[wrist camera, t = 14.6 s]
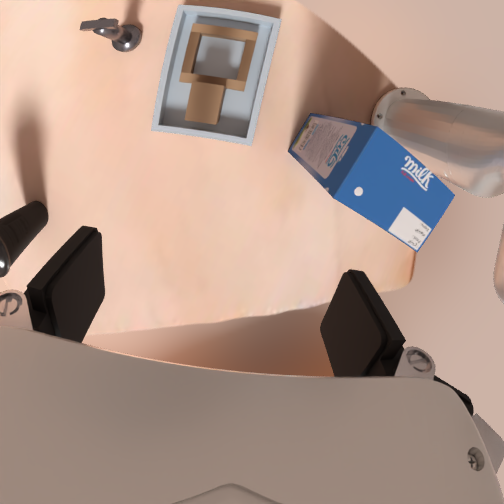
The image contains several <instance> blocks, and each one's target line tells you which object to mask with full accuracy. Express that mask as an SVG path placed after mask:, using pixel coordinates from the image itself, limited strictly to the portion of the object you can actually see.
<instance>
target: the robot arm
mask: <svg viewBox="0 0 504 504" xmlns="http://www.w3.org/2000/svg"><path fill="white" fill-rule="evenodd" d="M377 115H378V117H377ZM371 125H373V126H378V127H379V128H380V129H382V130H383V131H384V132H385V133H387V134H388V135H389V136H390V137H392V138H393V139H394V140H395V141H397V142H398V143H399V144H400V145H401V146H403V147H404V148H405V149H406V150H407V151H409V152H410V153H411V154H412V155H413V156H414V157H415V158H417V159H418V160H419V161H420V162H421V163H422V164H423V165H424V166H425V167H427V168H428V169H429V170H430V171H431V172H432V173H433V174H435V175H437V176H439V177H441V178H443V179H445V180H447V181H449V182H451V183H452V184H454V185H456V186H458V187H460V188H462V189H463V190H466V191H467V192H469V193H471V194H473V195H475V196H479V197H494V196H498V195H501V194H503V193H504V112H503V111H497V110H491V109H486V108H481V107H475V106H469V105H463V104H456V103H450V102H441V101H432V100H430V99H429V98H428V97H427V96H426V95H424V94H423V93H421V92H420V91H418V90H415V89H411V88H397V89H393V90H391V91H389V92H387V93H386V94H384V95H383V96H382V97H381V98H380V100H379V101H378V102H377V104H376V106H375V108H374V111H373V114H372V119H371ZM494 287H495V290H496V293H497V295H498V297H499V299H500V300H501V302H502V303H503V304H504V224H503V230H502V235H501V240H500V244H499V249H498V253H497V258H496V263H495V268H494ZM104 296H105V286H104V273H103V257H102V235H101V233H100V232H98V230H97V228H94V227H88V226H82V227H81V228H80V229H79V230H77V231H76V232H75V234H74V235H73V236H72V237H71V238H70V239H69V240H68V241H67V242H66V243H65V244H64V245H63V246H62V247H61V248H60V249H59V250H58V251H57V252H56V253H55V254H54V255H53V256H52V258H51V259H50V260H49V261H48V262H47V263H46V264H45V265H44V266H43V268H42V269H41V270H40V271H39V272H38V273H37V274H36V276H35V277H34V278H33V279H32V280H31V281H30V283H29V284H28V285H27V290H26V291H25V292H24V294H23V293H22V292H20V291H18V290H6V291H3V292H0V504H504V498H503V495H502V492H501V488H500V485H499V482H498V479H497V476H496V473H497V471H498V469H499V467H500V465H501V462H502V460H503V458H504V441H503V440H502V438H501V437H500V436H499V435H498V434H497V433H496V432H495V431H494V430H493V429H492V428H491V427H490V426H489V425H488V424H487V423H486V422H485V421H484V420H483V419H482V418H481V417H480V416H479V415H478V414H475V415H474V416H473V405H472V403H471V400H470V398H469V397H468V396H467V395H466V394H464V393H462V392H461V391H459V390H457V389H456V388H454V387H453V386H451V385H449V384H448V383H446V382H445V381H443V380H441V379H440V378H438V377H437V376H435V375H434V374H435V364H434V361H433V359H432V358H431V356H429V354H428V353H426V352H425V351H423V350H422V349H420V348H417V347H407V348H406V349H404V348H403V346H402V345H403V344H404V342H405V341H406V340H405V338H404V336H403V335H402V333H401V331H400V330H399V328H398V326H397V324H396V323H395V321H394V319H393V318H392V316H391V314H390V313H389V311H388V309H387V308H386V306H385V305H384V303H383V301H382V300H381V298H380V296H379V295H378V293H377V292H376V290H375V288H374V287H373V285H372V284H371V282H370V281H369V279H368V277H367V276H366V274H365V273H364V272H363V271H358V270H351V269H350V270H348V271H347V272H345V273H344V274H343V275H342V277H341V280H340V282H339V285H338V287H337V289H336V292H335V294H334V296H333V298H332V301H331V303H330V305H329V307H328V310H327V312H326V314H325V316H324V318H323V321H322V323H321V327H320V331H321V335H322V338H323V341H324V344H325V347H326V350H327V353H328V356H329V360H330V363H331V366H332V369H333V373H334V376H335V377H317V376H292V375H275V374H261V373H249V372H239V371H230V370H221V369H212V368H205V367H198V366H190V365H184V364H178V363H172V362H166V361H159V360H154V359H149V358H144V357H139V356H134V355H129V354H124V353H120V352H115V351H111V350H107V349H102V348H99V347H94V346H91V345H87V344H83V343H82V341H83V339H84V337H85V335H86V333H87V331H88V329H89V327H90V325H91V323H92V321H93V319H94V317H95V315H96V313H97V311H98V309H99V307H100V305H101V303H102V301H103V299H104Z"/></svg>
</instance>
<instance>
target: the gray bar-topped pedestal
mask: <svg viewBox="0 0 504 504" xmlns="http://www.w3.org/2000/svg"><path fill="white" fill-rule="evenodd" d="M80 30H82V31H91V30H93V31H94V33H96V34H99V35H101V36H104V37H106V38H109V39H111V40H112V45H113V47H114V48H115V49H116V50H118V51H121V52H129V51H132V50H133V49H135V48H136V47H137V46H138V45H139V43H140V41H141V38H142V34H141V31H140V30H139V29H138V28H137V27H136V26H134V25H124V26H122V27H121V26H119V25H118V20H117V19H106V18H100V19H98V20H92V21H84V22H82V23H81V26H80Z"/></svg>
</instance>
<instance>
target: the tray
mask: <svg viewBox="0 0 504 504" xmlns="http://www.w3.org/2000/svg"><path fill="white" fill-rule="evenodd" d="M281 20H282V19H278V18H274V17H269V16H264V15H259V14H254V13H249V12H243V11H237V10H230V9H223V8H215V7H205V6H193V5H178V8H177V12H176V15H175V19H174V23H173V26H172V30H171V34H170V38H169V42H168V46H167V50H166V54H165V59H164V63H163V68H162V72H161V77H160V82H159V87H158V93H157V98H156V104H155V110H154V116H153V122H152V129H151V131H158V132H167V133H175V134H182V135H190V136H197V137H203V138H210V139H216V140H222V141H227V142H233V143H239V144H244V145H249V146H252V142H253V137H254V133H255V128H256V124H257V119H258V115H259V111H260V106H261V102H262V98H263V94H264V89H265V85H266V81H267V77H268V73H269V68H270V64H271V60H272V56H273V52H274V48H275V44H276V40H277V36H278V32H279V28H280V24H281ZM193 23H196V24H206V25H214V26H222V27H229V28H235V29H241V30H247V31H252V32H257V33H258V36H257V40H256V44H255V48H254V52H253V56H252V60H251V64H250V69H249V73H248V77H247V81H246V85H245V90H244V92H242V91H237V90H231V89H226V92H225V96H224V101H223V105H222V110H221V115H220V120H219V122H218V123H217V124H216V125H214V124H208V123H201V122H194V121H187V120H185V115H186V109H187V104H188V99H189V94H190V89H191V83H182V82H179V79H180V74H181V70H182V65H183V61H184V56H185V52H186V48H187V44H188V40H189V36H190V32H191V29H192V25H193ZM245 43H246V42H241V41H235V40H229V39H222V38H215V37H207V36H202V39H201V43H200V47H199V51H198V55H197V59H196V63H195V67H194V72H193V74H200V75H207V76H214V77H221V78H227V79H233V80H237V75H238V71H239V67H240V63H241V59H242V55H243V51H244V47H245Z"/></svg>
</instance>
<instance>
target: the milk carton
mask: <svg viewBox="0 0 504 504" xmlns="http://www.w3.org/2000/svg"><path fill="white" fill-rule="evenodd" d="M288 152H289V153H290V154H291V155H292V156H293V157H294V158H295V159H296V160H297V161H298V162H299V163H300V164H301V165H302V166H303V167H304V168H305V169H306V170H307V171H308V172H309V173H310V174H311V175H312V176H313V177H314V178H315V179H316V180H317V181H318V182H319V183H320V184H321V185H322V186H323V187H324V188H325V190H326V191H327V192H328V193H329V194H330V195H331V196H332V197H333V198H334V199H336V200H337V201H339V202H341V203H342V204H344V205H346V206H347V207H349V208H351V209H352V210H354V211H356V212H357V213H359V214H360V215H362V216H364V217H365V218H367V219H368V220H370V221H371V222H373V223H375V224H376V225H378V226H379V227H381V228H382V229H384V230H385V231H387V232H388V233H390V234H391V235H393V236H394V237H396V238H397V239H399V240H400V241H402V242H403V243H405V244H406V245H408V246H409V247H411V248H412V249H413V250H415V251H416V252H418V251H419V249H420V248H421V246H422V245H423V244H424V242H425V241H426V239H427V238H428V236H429V235H430V233H431V232H432V230H433V229H434V228H435V226H436V224H437V223H438V222H439V220H440V218H441V217H442V215H443V214H444V212H445V210H446V209H447V208H448V206H449V204H450V203H451V201H452V199H453V198H454V196H455V195H454V194H453V193H452V192H451V191H450V190H449V189H448V188H447V187H446V186H445V185H444V184H443V183H442V182H441V181H440V180H439V179H438V178H437V177H436V176H435V175H434V174H433V173H432V172H431V171H430V170H429V169H428V168H427V167H425V166H424V165H423V164H422V163H421V162H420V161H419V160H418V159H417V158H415V157H414V156H413V155H412V154H411V153H410V152H409V151H407V150H406V149H405V148H404V147H403V146H401V145H400V144H399V143H398V142H397V141H395V140H394V139H393V138H392V137H390V136H389V135H388V134H387V133H385V132H384V131H383V130H382V129H380V128H379V127H378V126H373V125H369V124H364V123H360V122H355V121H351V120H346V119H341V118H336V117H331V116H325V115H319V114H313V113H310V115H309V117H308V118H307V120H306V122H305V123H304V125H303V127H302V128H301V130H300V132H299V133H298V135H297V137H296V139H295V140H294V142H293V144H292V145H291V147H290V149H289V150H288Z"/></svg>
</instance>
